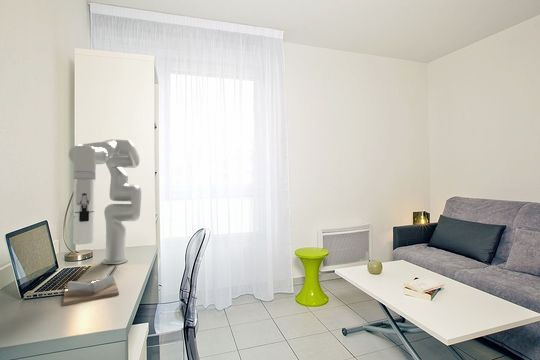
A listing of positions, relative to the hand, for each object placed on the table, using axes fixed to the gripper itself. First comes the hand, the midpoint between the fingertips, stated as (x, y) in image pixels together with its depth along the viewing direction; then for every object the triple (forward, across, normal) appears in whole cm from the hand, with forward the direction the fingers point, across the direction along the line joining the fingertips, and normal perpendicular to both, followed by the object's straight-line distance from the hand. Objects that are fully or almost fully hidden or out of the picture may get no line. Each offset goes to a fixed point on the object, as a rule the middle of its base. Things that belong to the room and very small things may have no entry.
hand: (84, 219), depth 117 cm
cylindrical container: (+10, 0, 0) cm, 10 cm away
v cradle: (+29, +1, +3) cm, 30 cm away
